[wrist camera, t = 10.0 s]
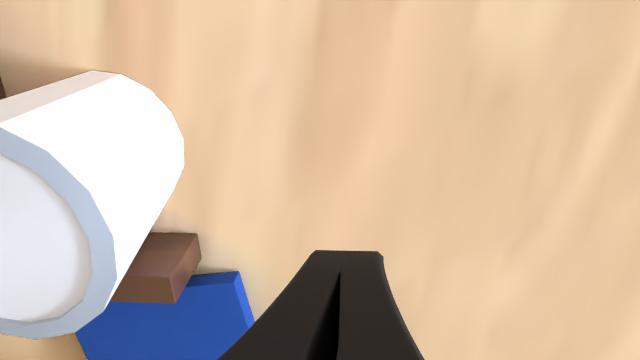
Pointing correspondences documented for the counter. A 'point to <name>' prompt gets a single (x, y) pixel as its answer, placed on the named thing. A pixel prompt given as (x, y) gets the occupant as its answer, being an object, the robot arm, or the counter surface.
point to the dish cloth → (172, 324)
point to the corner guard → (157, 266)
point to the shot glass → (78, 196)
